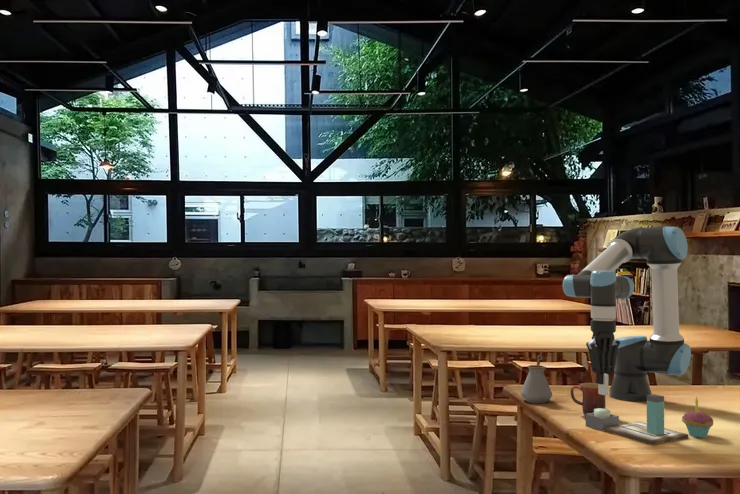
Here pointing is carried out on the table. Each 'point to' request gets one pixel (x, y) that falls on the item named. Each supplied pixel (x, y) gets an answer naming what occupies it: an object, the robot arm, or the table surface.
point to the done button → (602, 412)
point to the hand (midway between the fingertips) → (603, 394)
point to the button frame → (601, 421)
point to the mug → (589, 397)
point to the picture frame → (645, 433)
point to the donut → (697, 422)
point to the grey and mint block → (655, 414)
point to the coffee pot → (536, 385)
